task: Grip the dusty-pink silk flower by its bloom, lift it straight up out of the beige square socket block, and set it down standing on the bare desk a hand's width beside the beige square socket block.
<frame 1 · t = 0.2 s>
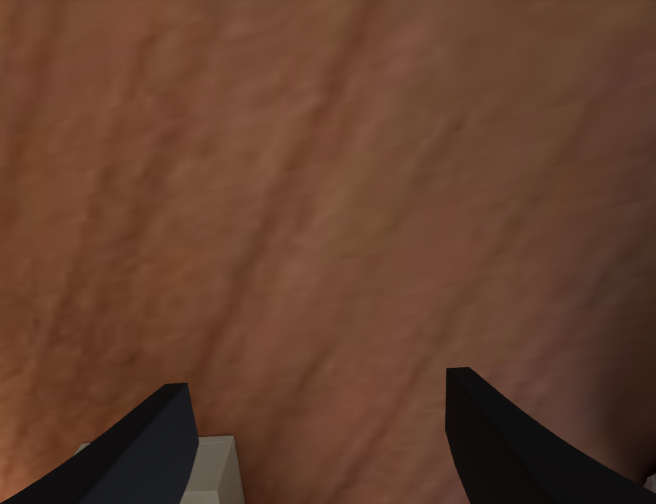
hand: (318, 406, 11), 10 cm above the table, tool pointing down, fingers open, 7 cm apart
beige square socket block: (171, 497, 26), on the table
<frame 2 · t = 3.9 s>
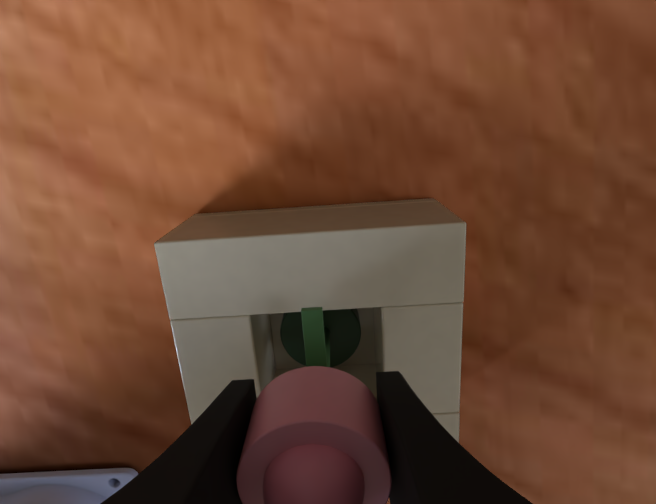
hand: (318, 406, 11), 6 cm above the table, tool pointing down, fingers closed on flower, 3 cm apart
flower: (321, 321, 16), point 1 cm above the table, touching gripper, beige square socket block
beige square socket block: (322, 314, 17), on the table
when the fingers open (5 cm above the table, at t = 7.7 s): flower stays where it is, on the table.
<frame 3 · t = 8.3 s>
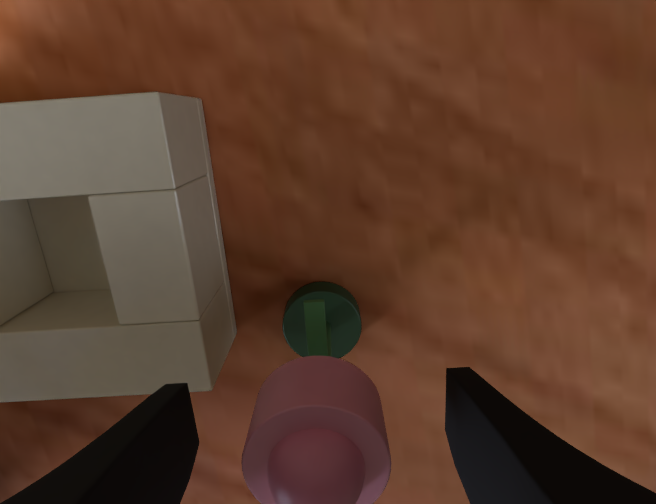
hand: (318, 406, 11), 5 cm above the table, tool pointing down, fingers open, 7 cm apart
flower: (322, 315, 17), on the table
beige square socket block: (103, 233, 16), on the table
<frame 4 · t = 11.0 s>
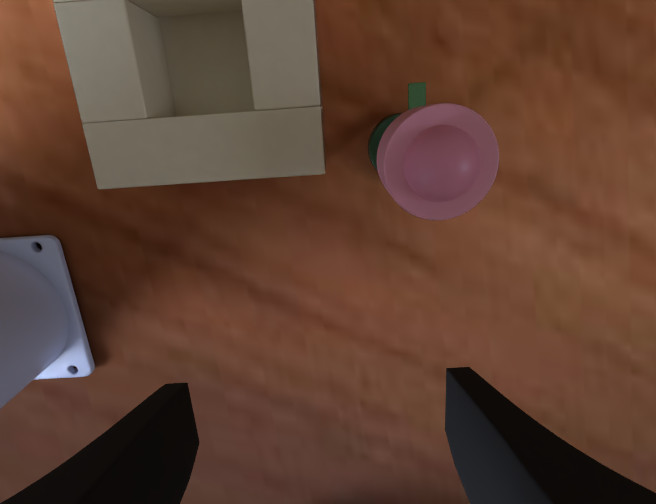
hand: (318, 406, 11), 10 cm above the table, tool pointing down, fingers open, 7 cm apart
flower: (399, 147, 19), on the table
beige square socket block: (218, 68, 18), on the table
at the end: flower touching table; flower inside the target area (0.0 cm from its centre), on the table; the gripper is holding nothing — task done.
